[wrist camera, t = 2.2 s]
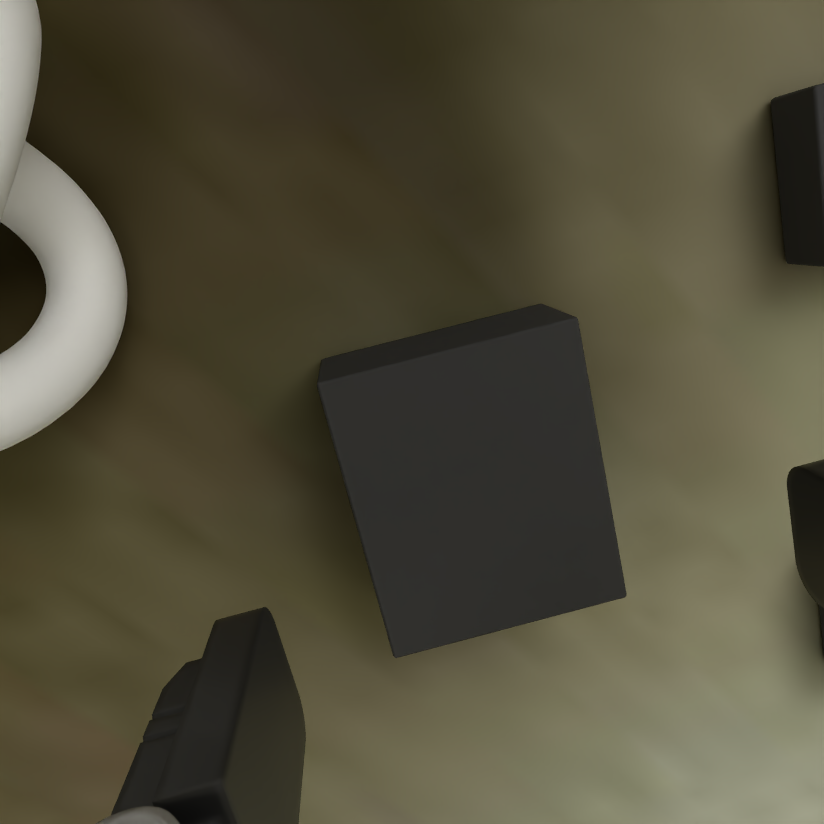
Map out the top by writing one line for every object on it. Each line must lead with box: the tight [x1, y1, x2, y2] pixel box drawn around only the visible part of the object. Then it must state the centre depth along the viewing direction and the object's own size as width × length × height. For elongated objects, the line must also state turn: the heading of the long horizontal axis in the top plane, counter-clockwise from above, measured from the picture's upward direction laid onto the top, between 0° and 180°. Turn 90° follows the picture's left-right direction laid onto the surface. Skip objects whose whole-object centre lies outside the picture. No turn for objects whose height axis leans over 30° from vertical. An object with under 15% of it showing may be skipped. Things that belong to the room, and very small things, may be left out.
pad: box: [317, 304, 626, 658], centre depth 15 cm, size 6×5×2 cm
